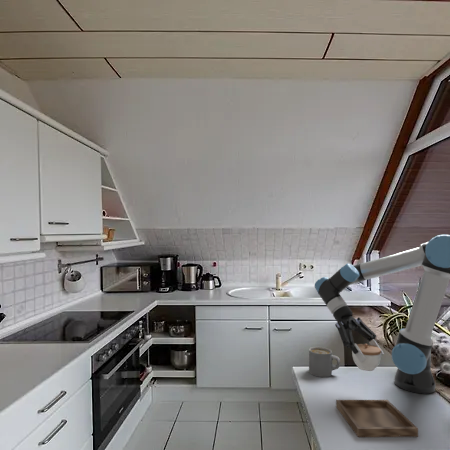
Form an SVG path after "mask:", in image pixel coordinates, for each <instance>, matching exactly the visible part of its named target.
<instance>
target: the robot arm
mask: <svg viewBox="0 0 450 450" xmlns="http://www.w3.org/2000/svg"><path fill="white" fill-rule="evenodd" d="M419 267H422V268H423V270H424V272H423V274H422V277H421V280H420V283H419V287H418V290H417V292H416V296H415V299H414V301H413V304H412V307H411V311H410V313H409V317H408V320H407V323H406V326H405V328H401V329H399V333H398V336H397V339H396V342H395V345H394V346H393V348H392V350H391V359H392V362H393V364H394V366H395V367H396V368H397V370H396V372H395V374H394V379H393V380H394V384H395V385H396V386H397V387H399V388H401V389H403V390H405V391H408V392H412V393H416V394H426V395H427V394H432V393H435V392H436V390H435V388H436V385H437V384H436V382H435V379H434V376H433V372H432V369H431V368H432V367H431V363H432V360H431V358H432V357H431V352H432V348H433V344H434V342H433V340H432V337H431V336H432V332H433V330H434V328H435V324H436V322H437V318H438V315H439V313H440V309H441V307H442V304H443V301H444V298H445V295H446V292H447V289H448V286H449V283H450V234H446V233H444V234H438V235H435V236H434V237H432V238H431V239H429V240H428V241H427V242H423V243H421V244H420V245H419V247H418V246H417V247H414V248H411V249H408V250H405V251H402V252H397V253H395V254H391V255H388V256H384V257H381V258H376V259H373V260H370V261H366V262H362V263H359V264H355V265H353V264H351V263H345V265H342V266H341V267H340V268H339V269H338V270H337V271H336V272H335V273H334V274H332V275H331V277H328V276H323V277H321V278H320V279H317V281H315V283H314V288H315V291H316V292H317V294H318V296H320V299H321V300H322V301H323V303H324V304H325V305H326V307H327V309H328V310H329V312H330V313H331V314H332V317H333V318H334V319H335V321H336V323H335V327H336V328H337V332H338V333H339V336H340V338H341V342H342V344H343V346H344V347H346V348H347V349H349V348H350V350H351V352H352V351H353V353H354V354H355V355H356V356H357V358H358V359H359V361H360V362H361V363H362V362H363V361H364V360H366V358H365V356H364V355H363V353H362V352H361V350H360V349H359V347H358V346H357V344H358V343H355V342H354V337H353V332H352V331H354V332H357V333H358V334H359V335H361V336H362V337H363V338H365V339H366V340H367V341H368V345H373V346H376V347H378V348H380V349H381V357H382V356H384V355H385V353H384V351H383V349H382V348H381V347H380V344H379V343H378V342H377V340H376V338H377V334H376V333H374V331H373V330H372V329H371V328H370V327H368V326H367V324H366V323H364V322H363V320H362V319H361V317H357V318H355V317H354V316H353V314H354V313H353V310H352V309H351V308H350V307H349V306H348V304H347V303H346V301H345V300H344V298H343V297H342V295H341V293H342V292H343V291H344V290H345V289H347V287H350V286H351V285H353V284H356V283H359V282H363V281H367V280H371V279H374V278H376V279H377V278H380V277H383V276H386V275H387V276H388V275H391V274H395V273H398V272H403V271H407V270H411V269H414V268H419Z"/></svg>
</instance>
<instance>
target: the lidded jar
mask: <svg viewBox="0 0 450 450" xmlns="http://www.w3.org/2000/svg"><path fill="white" fill-rule="evenodd" d="M356 344H357V346H358V347H359V349H360V350H361V352H362V353H363V355H364V356H365V358H366V360H364V361H363V362H362V363H361V362H360V361H359V359H358V358H357V356H356V355H355V354H354V353H353V351H352V350H351V353H352V354H351V355H352V360H353V362H354V364H355V365H356V366H357V367H358V369H360V370H362V371H365V372H366V371H367V372H373V371H375V369H377V367H379V365H380V363H381V359H382V358H381V357H382V356H381V349H382V348H381V347H380V348H381V349H380V348H378V347H376V346H373V345H370V344H369V343H356Z"/></svg>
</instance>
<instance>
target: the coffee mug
mask: <svg viewBox="0 0 450 450" xmlns="http://www.w3.org/2000/svg"><path fill="white" fill-rule="evenodd" d="M333 360H336V365H334V364H333ZM340 366H341V359H340V358H339V356H337V355H333V351H332V349H329V348H327V347H323V346H311V347H309V350H308V373H309V374H311V375H312V376H314V377H318V378H329V377H331V375H332V372H333V371H334V370H335V371H336V370H338V369H339V368H340Z"/></svg>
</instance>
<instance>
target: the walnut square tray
mask: <svg viewBox="0 0 450 450" xmlns="http://www.w3.org/2000/svg"><path fill="white" fill-rule="evenodd" d="M335 402H336V403H335V407H336V408H337V410H338V411H339V413H340V414H341V415H342V418H343V419H344V420H345V421H346V422H347V424H348V425H349V427H350V428H351V429H352V430H353V432H354V434H355V435H356V436H357V437H358V438H396V437H397V438H398V437H399V438H403V437H405V438H407V437H409V438H411V437H413V438H414V437H415V438H417V437H419V428H418V427H417V426H416V425H415V424H414V423H413V422H412V421H411V420H410V419H409V418H407V416H405V415H404V413H402V412H401V411H400V410H399V409H398V408H397V407H396V406H395V405H394V404H393V403H392V402H391V401H389V400H388V399H336V401H335Z"/></svg>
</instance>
